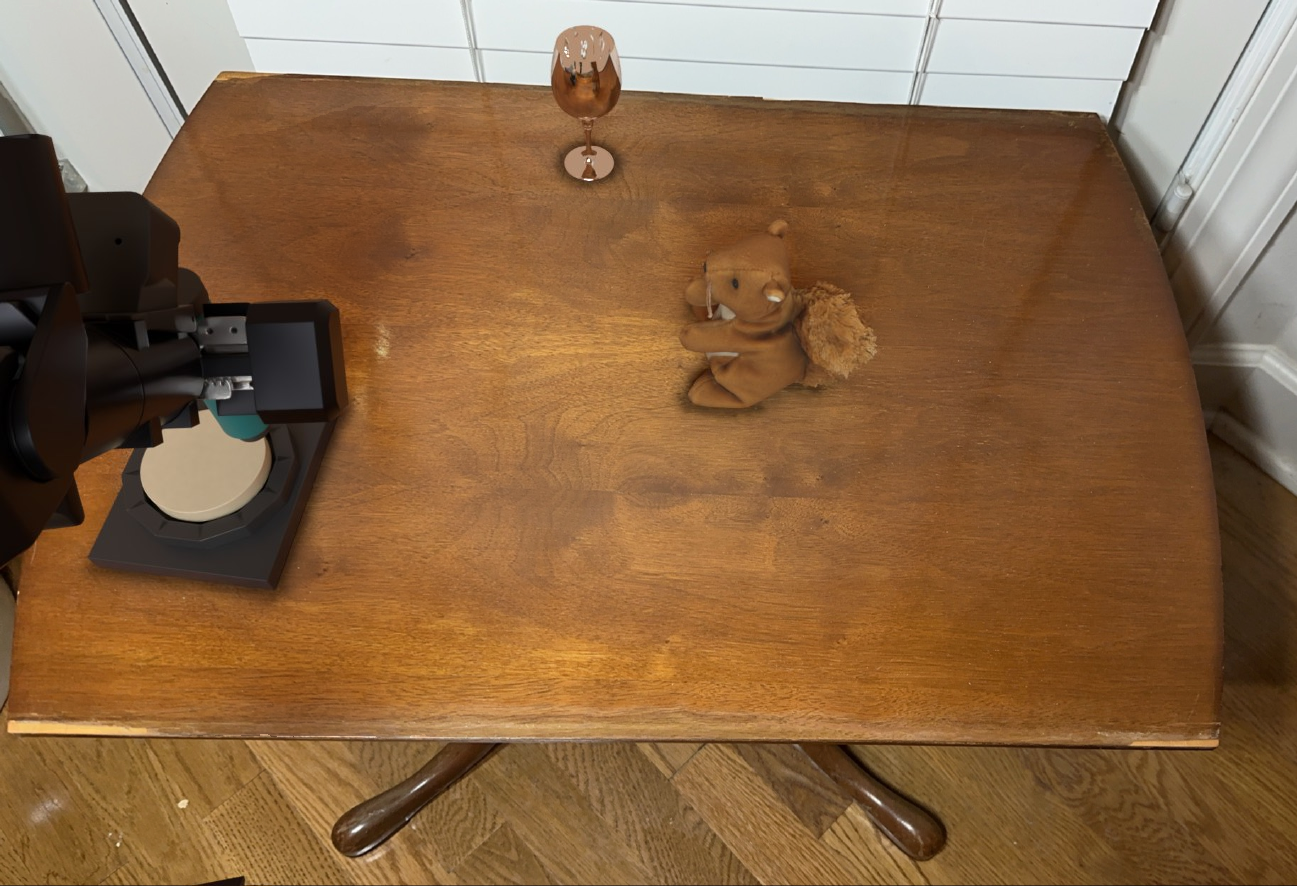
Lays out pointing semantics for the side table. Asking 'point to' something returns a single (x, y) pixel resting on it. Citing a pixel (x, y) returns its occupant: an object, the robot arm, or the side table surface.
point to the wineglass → (586, 91)
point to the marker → (196, 295)
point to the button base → (217, 520)
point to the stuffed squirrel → (768, 325)
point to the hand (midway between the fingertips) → (217, 344)
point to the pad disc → (204, 471)
